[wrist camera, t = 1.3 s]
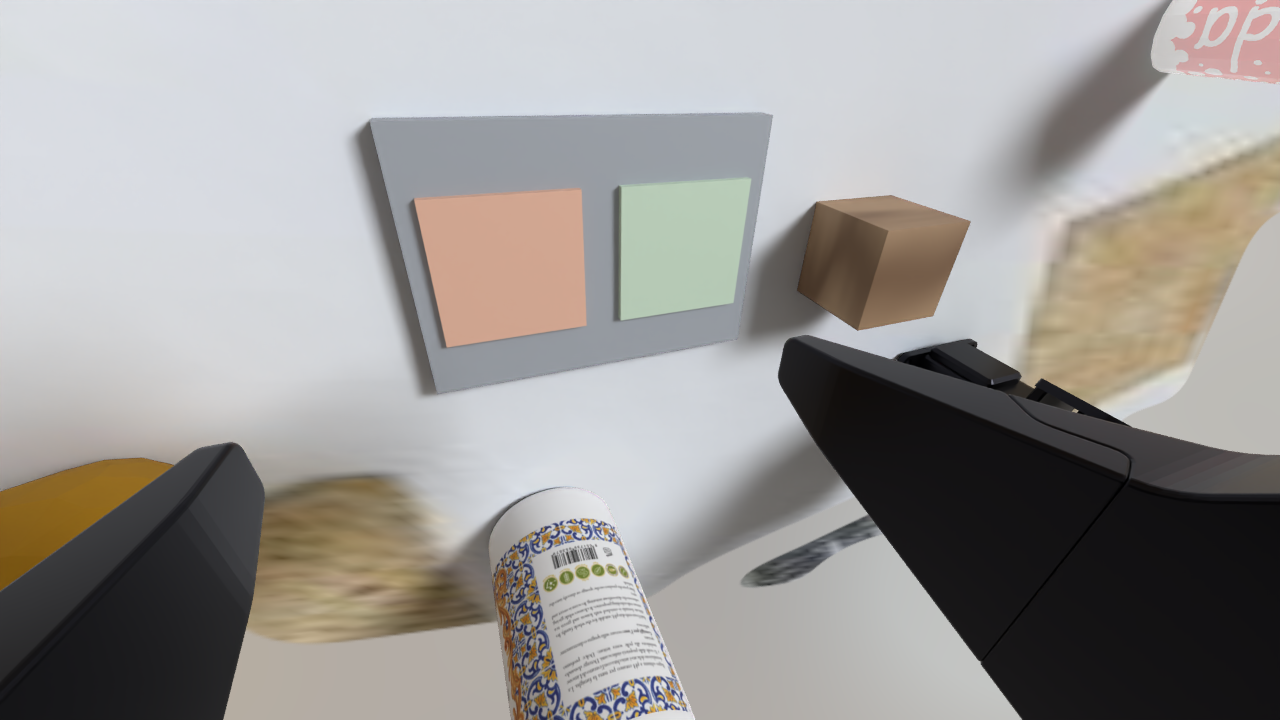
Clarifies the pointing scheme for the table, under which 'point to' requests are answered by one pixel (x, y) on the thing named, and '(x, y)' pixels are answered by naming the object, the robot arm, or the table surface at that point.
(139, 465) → the apple
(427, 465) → the table surface
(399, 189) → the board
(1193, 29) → the beverage cup
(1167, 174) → the table surface
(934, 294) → the walnut block
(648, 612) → the bath foam
